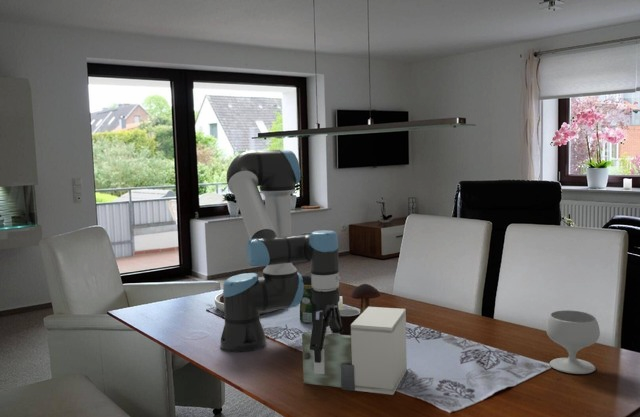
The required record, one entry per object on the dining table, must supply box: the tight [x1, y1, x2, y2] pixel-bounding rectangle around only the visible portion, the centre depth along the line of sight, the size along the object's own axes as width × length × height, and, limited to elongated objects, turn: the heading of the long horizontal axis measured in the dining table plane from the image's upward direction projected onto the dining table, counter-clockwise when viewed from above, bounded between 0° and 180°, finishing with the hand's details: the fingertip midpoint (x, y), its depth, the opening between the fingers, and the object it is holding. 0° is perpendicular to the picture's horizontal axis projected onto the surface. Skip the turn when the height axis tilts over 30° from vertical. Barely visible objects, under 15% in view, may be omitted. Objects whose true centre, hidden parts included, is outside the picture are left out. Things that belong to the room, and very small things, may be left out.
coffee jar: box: [299, 271, 318, 325], centre depth 217 cm, size 10×8×19 cm
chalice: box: [545, 309, 601, 375], centre depth 164 cm, size 14×14×15 cm
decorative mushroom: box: [350, 283, 381, 315], centre depth 211 cm, size 11×11×15 cm
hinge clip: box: [341, 363, 356, 392], centre depth 156 cm, size 4×6×9 cm
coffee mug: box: [338, 308, 360, 336], centre depth 194 cm, size 12×9×10 cm
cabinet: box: [351, 306, 408, 396], centre depth 160 cm, size 11×18×18 cm, turn 160°
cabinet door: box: [301, 331, 352, 388], centre depth 157 cm, size 14×3×14 cm, turn 70°
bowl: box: [214, 292, 276, 315], centre depth 241 cm, size 30×30×8 cm
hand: (327, 364), depth 158 cm, fingers open, 13 cm apart
